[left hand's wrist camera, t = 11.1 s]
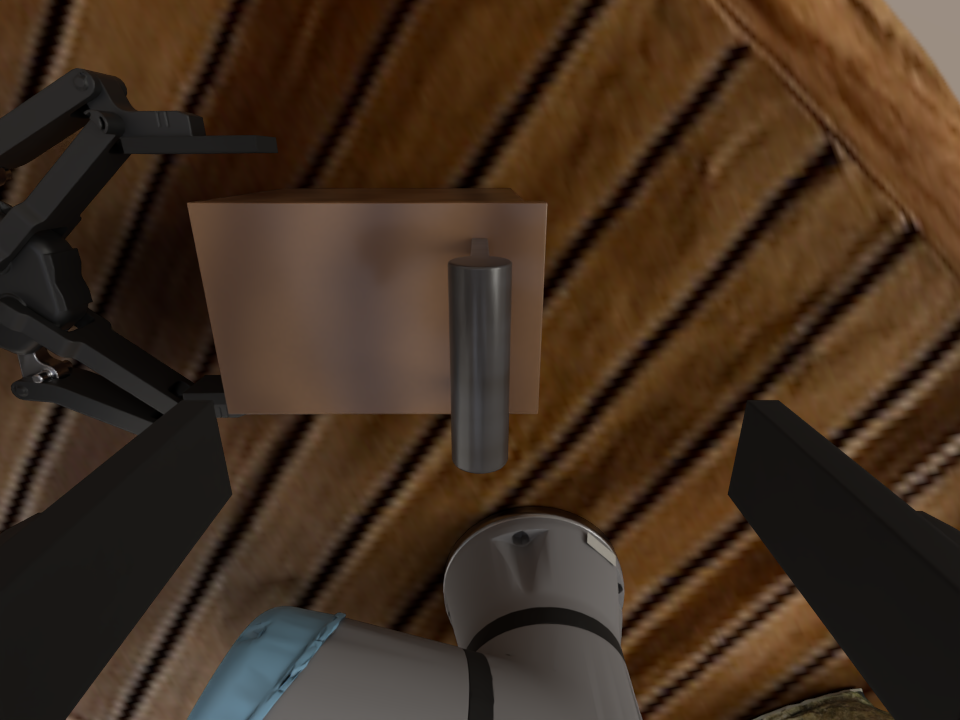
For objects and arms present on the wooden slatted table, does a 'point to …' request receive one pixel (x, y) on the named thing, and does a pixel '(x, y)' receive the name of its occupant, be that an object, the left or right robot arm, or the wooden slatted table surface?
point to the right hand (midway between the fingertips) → (287, 277)
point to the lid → (379, 310)
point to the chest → (379, 194)
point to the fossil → (831, 708)
